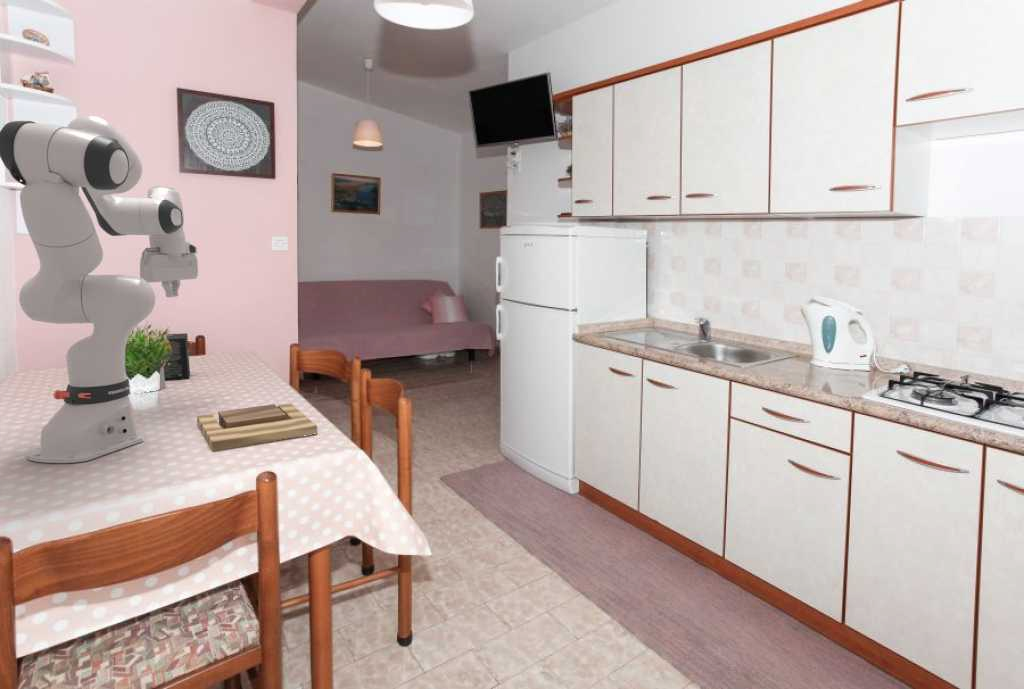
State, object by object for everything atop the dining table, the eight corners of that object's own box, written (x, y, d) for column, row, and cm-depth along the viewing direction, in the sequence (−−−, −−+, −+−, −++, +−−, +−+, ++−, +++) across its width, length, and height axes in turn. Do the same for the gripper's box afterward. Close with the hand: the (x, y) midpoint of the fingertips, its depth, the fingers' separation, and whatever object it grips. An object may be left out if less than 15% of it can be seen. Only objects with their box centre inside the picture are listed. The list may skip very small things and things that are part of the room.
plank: (218, 411, 158) (227, 423, 148) (274, 404, 166) (286, 414, 156) (219, 424, 159) (228, 436, 149) (275, 416, 167) (286, 427, 157)
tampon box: (161, 375, 214) (157, 334, 212) (190, 373, 218) (187, 332, 215) (157, 381, 204) (154, 338, 202) (188, 379, 208) (185, 337, 206)
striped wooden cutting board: (197, 423, 158) (196, 415, 157) (290, 410, 171) (290, 403, 170) (212, 451, 137) (212, 441, 137) (317, 434, 150) (317, 425, 150)
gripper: (153, 247, 159) (157, 300, 162) (200, 247, 179) (204, 294, 182) (130, 247, 160) (135, 299, 162) (180, 247, 180) (184, 293, 182)
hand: (172, 296), depth 172 cm, fingers closed
